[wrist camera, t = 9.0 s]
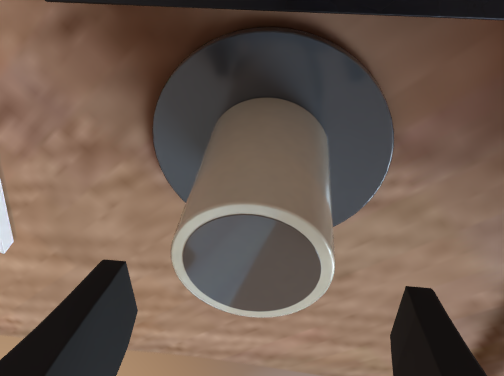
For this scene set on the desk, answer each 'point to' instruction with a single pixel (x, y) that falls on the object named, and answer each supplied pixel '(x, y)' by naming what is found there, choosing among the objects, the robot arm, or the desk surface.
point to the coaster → (283, 87)
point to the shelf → (338, 6)
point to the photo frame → (4, 225)
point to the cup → (259, 213)
